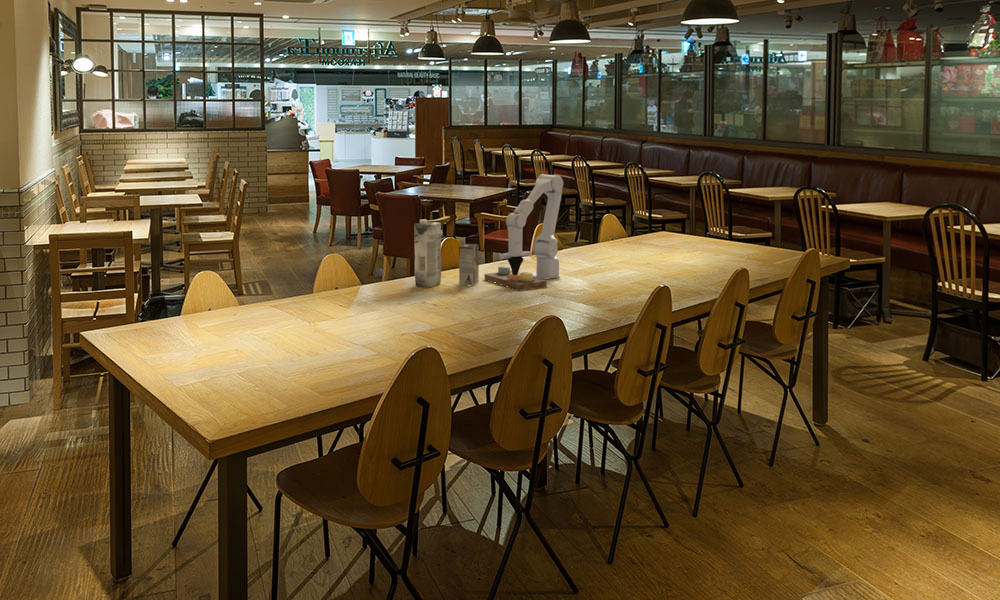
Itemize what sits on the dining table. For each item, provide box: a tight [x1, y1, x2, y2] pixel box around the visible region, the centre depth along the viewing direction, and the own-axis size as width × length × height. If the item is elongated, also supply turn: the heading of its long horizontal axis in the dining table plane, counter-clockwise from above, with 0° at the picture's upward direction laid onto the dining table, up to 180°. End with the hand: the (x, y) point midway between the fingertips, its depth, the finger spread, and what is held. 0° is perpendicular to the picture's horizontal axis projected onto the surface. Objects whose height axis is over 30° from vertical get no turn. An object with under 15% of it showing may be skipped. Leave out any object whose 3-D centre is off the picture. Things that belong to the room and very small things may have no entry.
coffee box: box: [458, 243, 480, 287], centre depth 365 cm, size 9×6×16 cm
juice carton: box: [413, 218, 442, 288], centre depth 360 cm, size 9×10×27 cm
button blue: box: [497, 265, 511, 276], centre depth 374 cm, size 5×5×3 cm
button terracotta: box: [509, 274, 521, 279], centre depth 367 cm, size 5×5×3 cm
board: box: [483, 270, 548, 291], centre depth 368 cm, size 14×26×2 cm, turn 32°
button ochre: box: [520, 271, 534, 283], centre depth 360 cm, size 5×5×3 cm
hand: (515, 274), depth 367 cm, fingers closed, pressing on button terracotta
